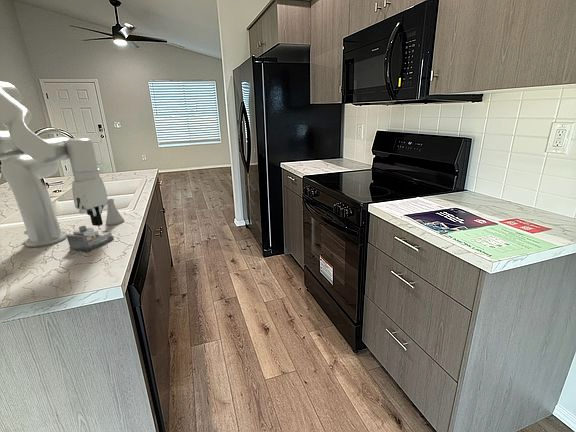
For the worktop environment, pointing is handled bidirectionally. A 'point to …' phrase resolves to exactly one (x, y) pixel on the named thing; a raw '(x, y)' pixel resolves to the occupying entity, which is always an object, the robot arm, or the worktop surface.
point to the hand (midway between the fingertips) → (97, 224)
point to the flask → (113, 214)
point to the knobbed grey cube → (85, 232)
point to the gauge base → (84, 246)
